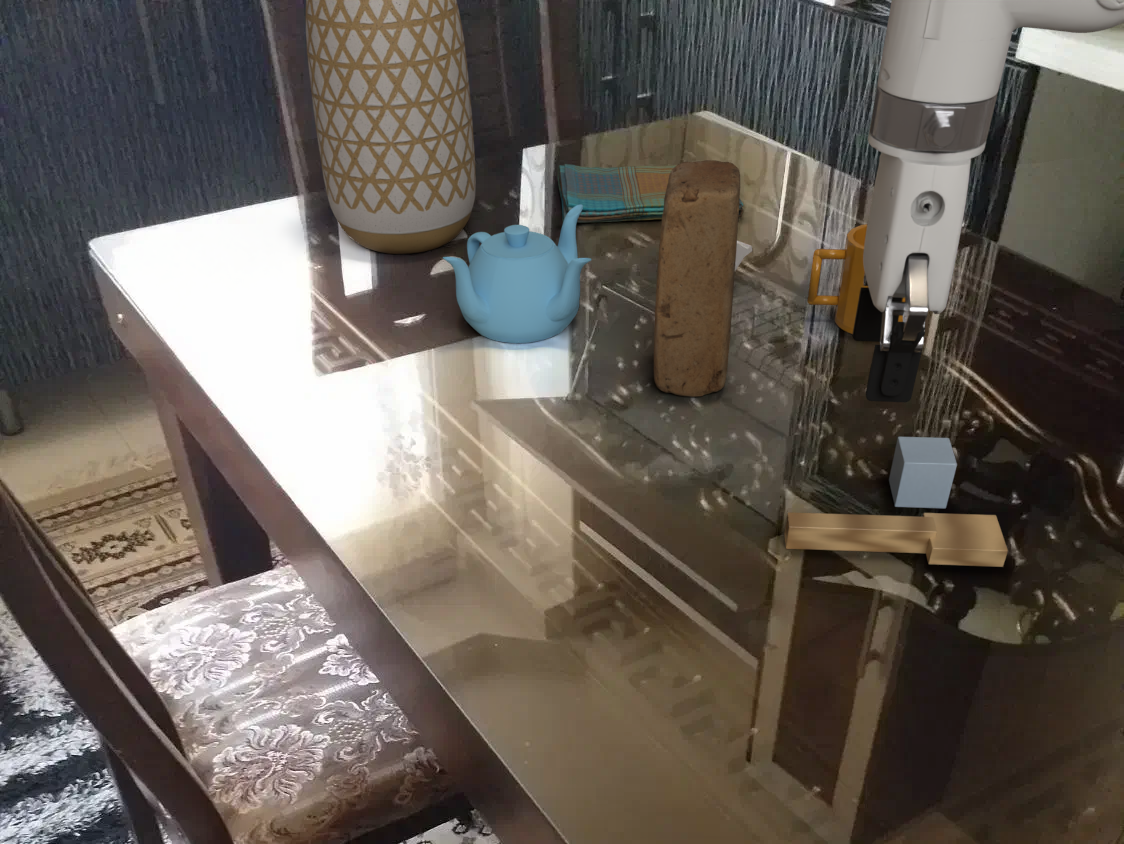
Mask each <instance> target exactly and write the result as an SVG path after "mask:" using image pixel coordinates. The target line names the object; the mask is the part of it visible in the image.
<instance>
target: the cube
mask: <svg viewBox="0 0 1124 844" xmlns="http://www.w3.org/2000/svg"><path fill="white" fill-rule="evenodd" d="M957 466H958V463H957V459H956V456H955V453H954V450H953V446H952V442H951V440H950V438H949V437H929V436H928V437H927V436H926V437H925V436H897V439H896V444H895V449H894V454H893V459H892V463H891V468H890V473H889V477H888V482H889V486H890V491H891V495H892V500H893V501H892V502H893V505H894V507H895V508H917V509H918V508H919V509H923V508H924V509H946V508H947V506H948V502H949V498H950V495H951V490H952V486H953V482H954V478H955V475H956V470H957Z"/></svg>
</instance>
